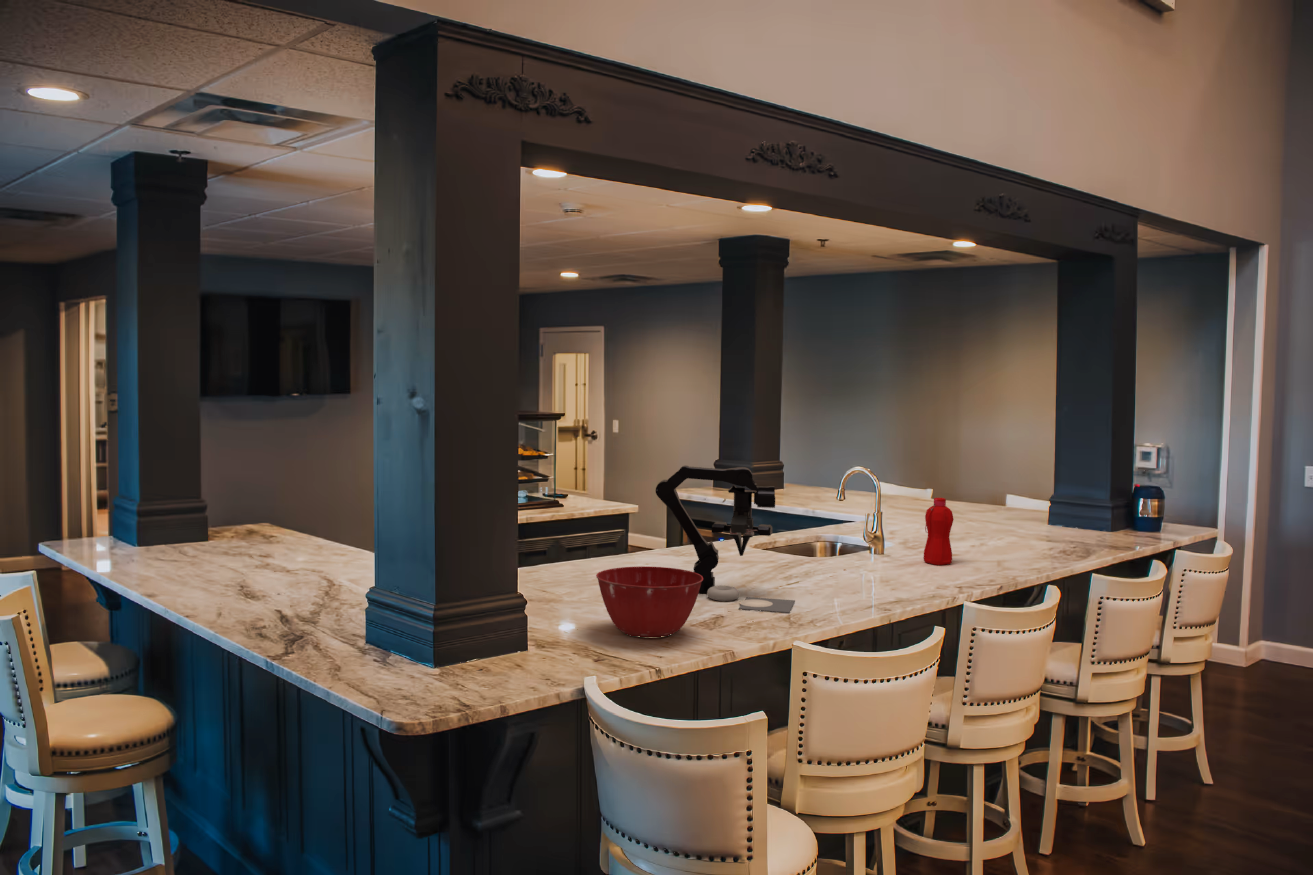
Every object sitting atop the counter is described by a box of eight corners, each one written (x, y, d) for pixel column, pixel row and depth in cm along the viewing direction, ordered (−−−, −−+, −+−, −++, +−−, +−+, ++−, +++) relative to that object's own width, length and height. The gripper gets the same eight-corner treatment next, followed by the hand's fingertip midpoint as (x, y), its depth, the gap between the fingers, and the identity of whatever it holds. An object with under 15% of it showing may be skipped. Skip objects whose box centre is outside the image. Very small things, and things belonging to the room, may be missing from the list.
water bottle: (916, 562, 368) (918, 497, 367) (938, 560, 373) (941, 496, 372) (932, 566, 360) (935, 499, 359) (955, 564, 365) (958, 498, 363)
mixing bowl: (642, 614, 278) (643, 560, 277) (723, 631, 260) (724, 574, 259) (573, 632, 256) (574, 574, 255) (656, 653, 238) (657, 591, 237)
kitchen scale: (735, 609, 286) (735, 607, 286) (743, 597, 301) (743, 596, 301) (789, 613, 282) (789, 611, 282) (795, 601, 298) (795, 599, 298)
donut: (745, 601, 297) (729, 593, 307) (745, 590, 297) (729, 583, 306) (716, 603, 293) (701, 596, 302) (716, 592, 293) (701, 585, 302)
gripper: (708, 508, 301) (707, 558, 302) (768, 511, 297) (767, 561, 298) (715, 504, 312) (714, 552, 313) (773, 507, 308) (771, 555, 309)
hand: (741, 555), depth 308 cm, fingers closed
